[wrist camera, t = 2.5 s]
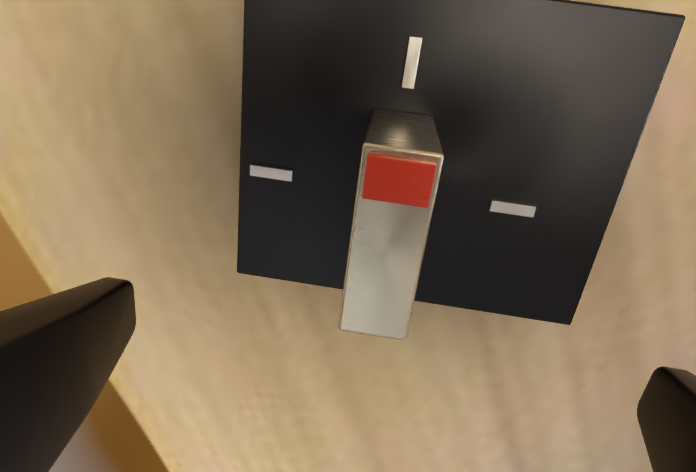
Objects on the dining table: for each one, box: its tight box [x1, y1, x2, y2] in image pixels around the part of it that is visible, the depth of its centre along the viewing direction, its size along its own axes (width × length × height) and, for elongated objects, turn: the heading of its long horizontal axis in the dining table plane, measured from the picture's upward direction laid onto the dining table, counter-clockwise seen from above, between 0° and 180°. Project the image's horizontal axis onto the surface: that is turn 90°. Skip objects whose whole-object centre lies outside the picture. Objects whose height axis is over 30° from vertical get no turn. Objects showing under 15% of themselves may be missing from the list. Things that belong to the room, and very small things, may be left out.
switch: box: [338, 109, 444, 340], centre depth 14 cm, size 5×2×5 cm, turn 173°
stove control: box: [237, 0, 685, 325], centre depth 17 cm, size 11×12×3 cm
